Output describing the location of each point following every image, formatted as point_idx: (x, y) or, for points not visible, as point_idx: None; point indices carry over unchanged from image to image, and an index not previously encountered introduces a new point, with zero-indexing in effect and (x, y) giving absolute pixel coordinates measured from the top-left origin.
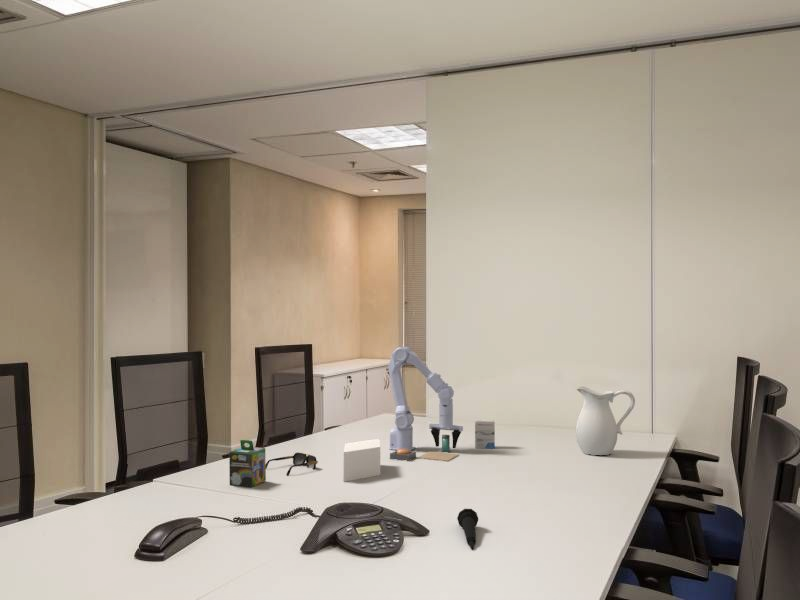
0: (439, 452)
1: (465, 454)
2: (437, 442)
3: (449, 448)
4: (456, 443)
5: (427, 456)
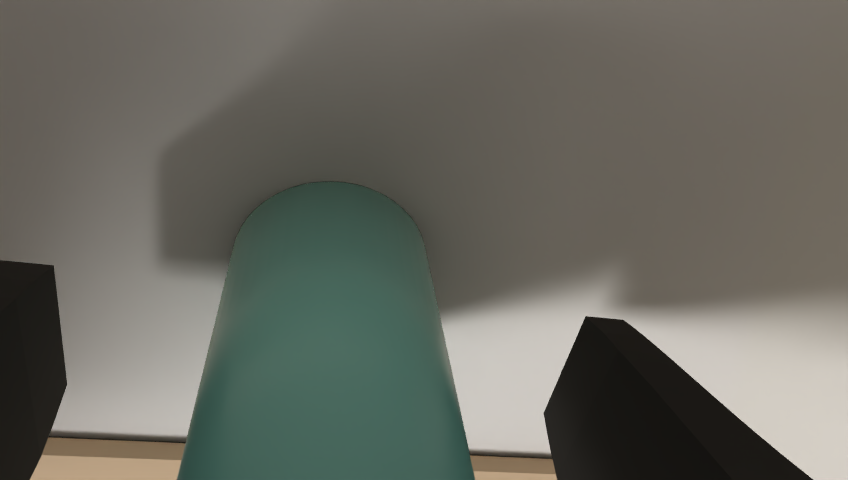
0: None
1: (770, 363)
2: (4, 475)
3: (436, 301)
4: (700, 399)
5: None
